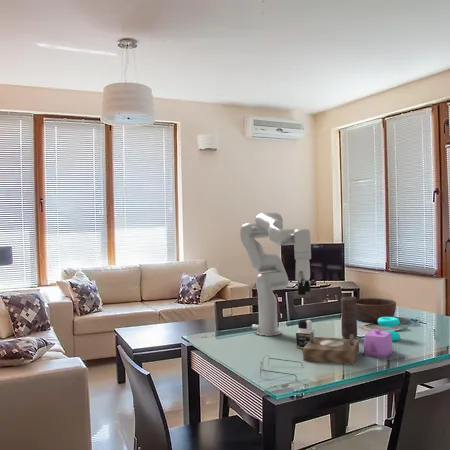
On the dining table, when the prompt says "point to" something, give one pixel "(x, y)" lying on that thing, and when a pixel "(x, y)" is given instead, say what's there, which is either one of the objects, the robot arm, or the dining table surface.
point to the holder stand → (331, 349)
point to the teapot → (378, 343)
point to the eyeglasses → (273, 371)
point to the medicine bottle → (303, 333)
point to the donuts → (390, 323)
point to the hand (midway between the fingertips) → (304, 293)
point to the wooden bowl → (374, 309)
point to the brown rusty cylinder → (348, 317)
